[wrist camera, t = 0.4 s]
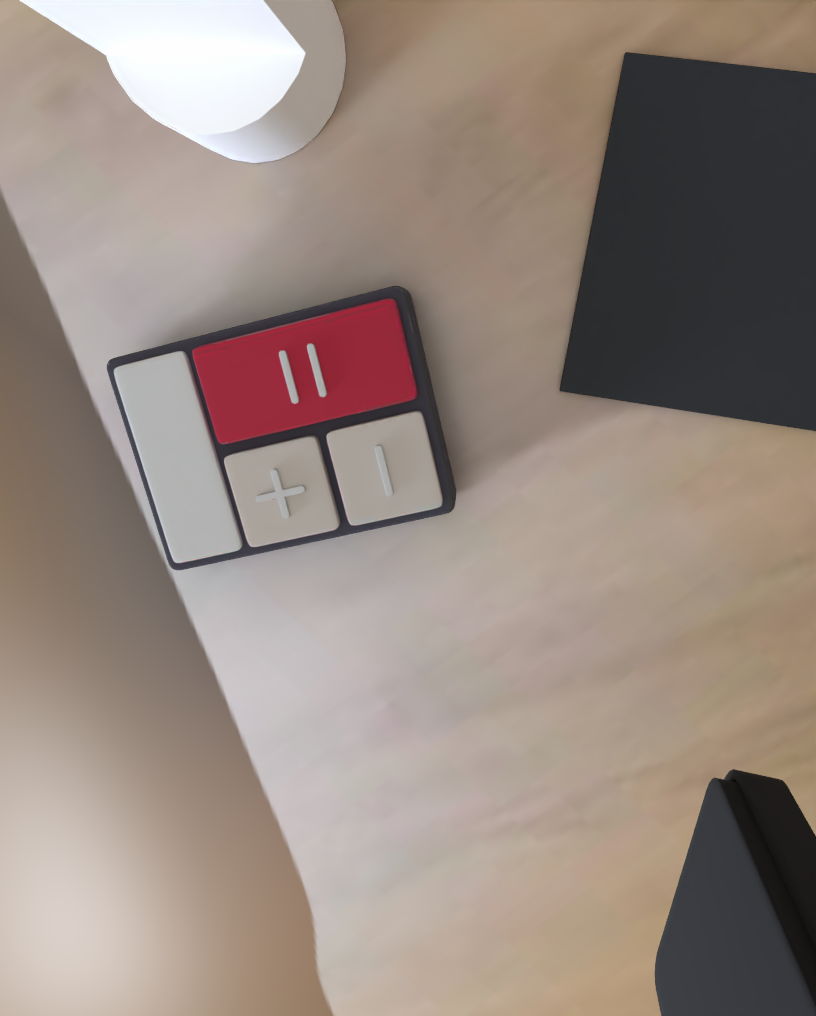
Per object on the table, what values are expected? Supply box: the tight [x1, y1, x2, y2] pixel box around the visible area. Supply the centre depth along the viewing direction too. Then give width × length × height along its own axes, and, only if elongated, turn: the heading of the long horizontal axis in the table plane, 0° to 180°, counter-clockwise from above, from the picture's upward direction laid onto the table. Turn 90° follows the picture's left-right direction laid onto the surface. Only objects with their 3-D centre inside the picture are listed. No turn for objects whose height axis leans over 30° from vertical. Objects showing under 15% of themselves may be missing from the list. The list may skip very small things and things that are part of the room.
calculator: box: [107, 286, 456, 570], centre depth 38 cm, size 11×4×15 cm
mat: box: [560, 52, 816, 431], centre depth 35 cm, size 15×20×1 cm
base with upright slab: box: [20, 0, 346, 163], centre depth 30 cm, size 9×9×12 cm
